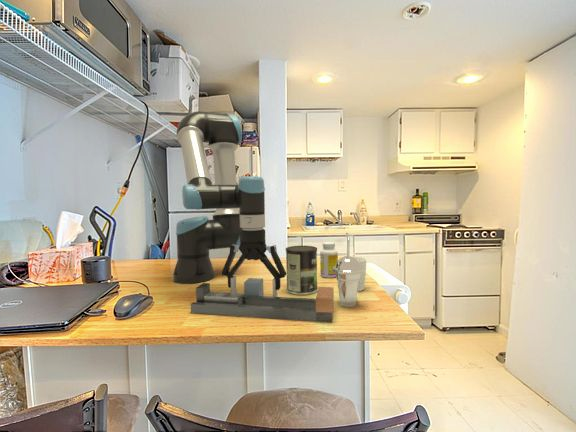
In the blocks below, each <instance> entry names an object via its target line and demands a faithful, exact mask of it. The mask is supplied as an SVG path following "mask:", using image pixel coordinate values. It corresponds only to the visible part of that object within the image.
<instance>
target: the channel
mask: <svg viewBox="0 0 576 432" xmlns="http://www.w3.org/2000/svg"><path fill="white" fill-rule="evenodd" d="M334 293H335V292H334V286H332V287H331V286H318V288H317V292H316V296H315V298H307V297H306V298H305V297H290V296H277V297H273V295H272V296H270V295H269V296H267V295H264V296H253V295H244V294H242V301H243V305H234V304H217V303H201V302H197V301H193V302H191V303H190V314H199V315H201V314H202V315H214V316H215V315H216V316H230V317H243V318H244V317H245V318H260V319H276V320H290V321H302V322H303V321H305V322H316V323H317V322H320V323H322V322H323V323H333V319H334V317H333V316H334V309H335V308H334V306H335V305H334V304H335V303H334V301H335V300H334V298H335V295H334Z"/></svg>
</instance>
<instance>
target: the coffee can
mask: <svg viewBox="0 0 576 432" xmlns="http://www.w3.org/2000/svg"><path fill="white" fill-rule="evenodd" d="M285 254H286V256H285V257H286V258H285V259H286V291H287V293H288V294H292V295H297V296H305V295H307V296H308V295H313V294H315V293H317V292H318V256H317V255H318V248H317V247H316V246H312V245H291V246H287V247H286V248H285Z"/></svg>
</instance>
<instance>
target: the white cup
mask: <svg viewBox="0 0 576 432" xmlns="http://www.w3.org/2000/svg"><path fill="white" fill-rule="evenodd" d="M352 257H353V258H355V259H356V260H357V261H358V262H359V264H360V267H362V268H363V272H362V273H360V278H359V282H358V291H357V292H361V291H362V290H363V291H364V290H365V288H366V284H365V283H366V282H365V281H366V274H367V273H366V272H367V258H365V257H362V256H352ZM363 291H362V292H363Z"/></svg>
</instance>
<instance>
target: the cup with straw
mask: <svg viewBox="0 0 576 432" xmlns="http://www.w3.org/2000/svg"><path fill="white" fill-rule="evenodd" d="M345 236H346V255H345V256H341V258H338V261H337V263H336V266H334V267H333V271H334V272H336V277H335V278H336V282H337V289H338V290H337V292H338V297H339V299H338V300H339V305H341V306H343V307H346V308H347V307H351V308H352V307H355V306H356V305H357V298H358V292H359V291H358V282H359V278H360V273H362V272H363V268H362V267H360V264H359V262H358V261H357V260H356V259H355V258H353V257H354V256H351V255H350V251H351V250H350V240H351V239H350V236H349V233H348V232H345Z"/></svg>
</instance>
